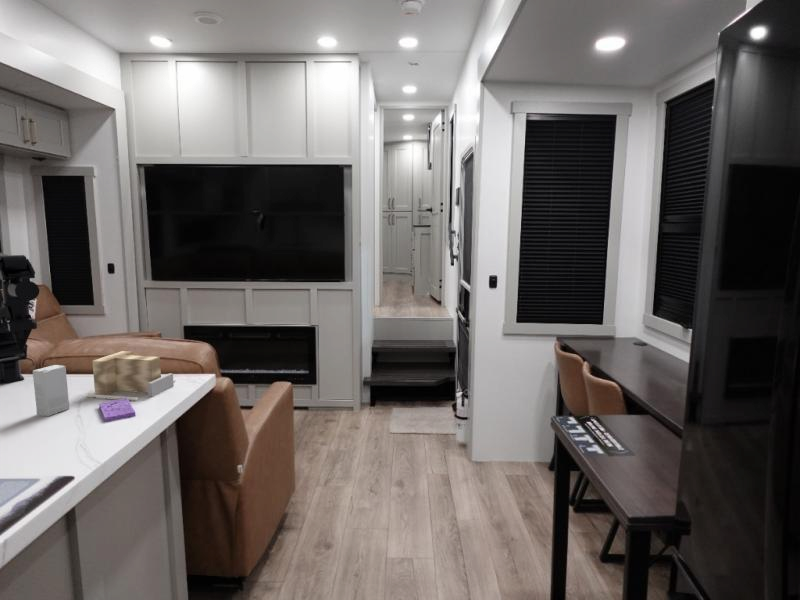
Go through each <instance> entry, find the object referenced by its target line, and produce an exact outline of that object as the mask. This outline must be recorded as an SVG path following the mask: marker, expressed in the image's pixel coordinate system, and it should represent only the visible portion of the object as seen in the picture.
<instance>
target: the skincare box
mask: <svg viewBox="0 0 800 600" xmlns="http://www.w3.org/2000/svg"><path fill="white" fill-rule="evenodd" d="M32 378H33V379H32V380H33V388H34V398H35V408H36V414H37V415H39V416H42V415H43V417H50V416H53V415H55V414H57V413H58V412H59V413H61V412H64V411H66V410H70V399H69V389H68V388H69V387H68V378H67V369H66V366H65V365H62V364H61V365H60V364H53V365H49V366H46V367H42V368H38V369H33V370H32Z"/></svg>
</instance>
